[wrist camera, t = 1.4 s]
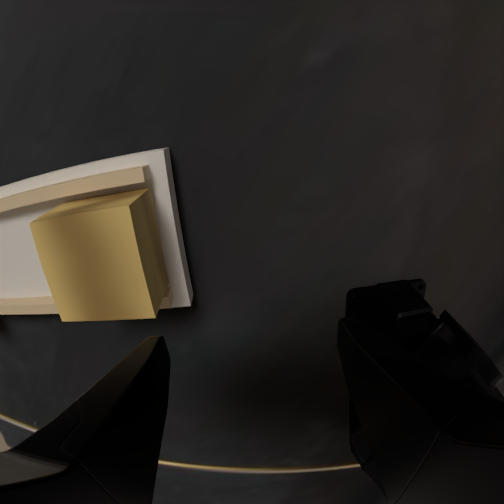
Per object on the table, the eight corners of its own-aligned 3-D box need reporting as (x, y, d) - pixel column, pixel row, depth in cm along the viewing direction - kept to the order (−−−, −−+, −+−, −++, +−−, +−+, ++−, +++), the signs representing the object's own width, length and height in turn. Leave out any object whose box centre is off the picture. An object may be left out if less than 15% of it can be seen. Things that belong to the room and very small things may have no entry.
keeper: (150, 187, 17) (128, 205, 14) (169, 282, 20) (155, 317, 16) (63, 202, 17) (29, 223, 14) (86, 288, 20) (62, 321, 16)
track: (168, 147, 18) (143, 157, 13) (193, 294, 22) (182, 344, 17) (-54, 206, 18) (-94, 227, 13) (-21, 305, 22) (-52, 337, 17)
